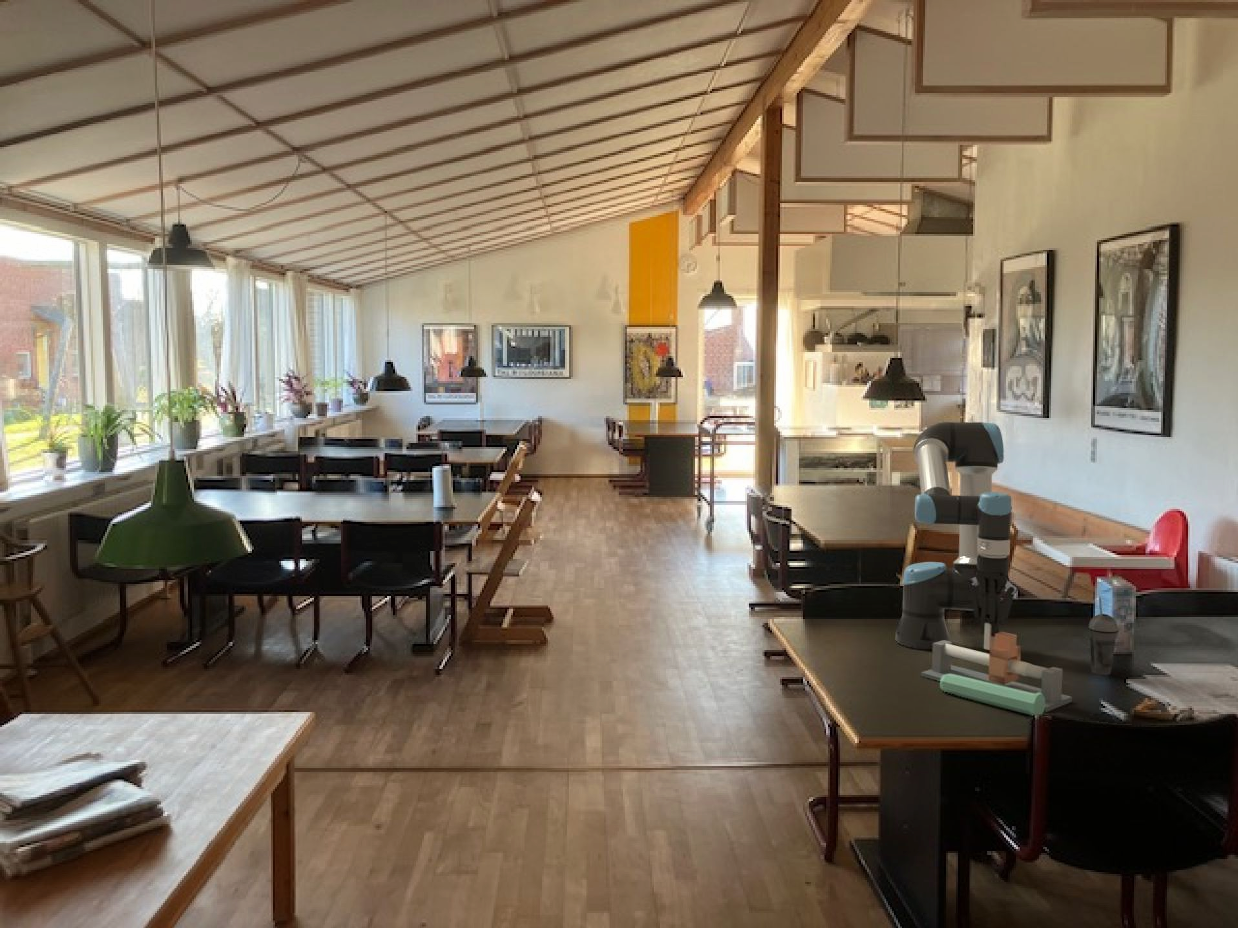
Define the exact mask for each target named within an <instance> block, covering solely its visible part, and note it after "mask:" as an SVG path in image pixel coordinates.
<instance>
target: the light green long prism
mask: <svg viewBox="0 0 1238 928" xmlns="http://www.w3.org/2000/svg"><path fill="white" fill-rule="evenodd" d="M939 688H940V690H941V691H942V690H943V691H944V692H943V691H942V692H943V693H945V692H948V693H947V694H949V693H951V694H950V695H952V694H955V695H954V696H956V695H957V697H960V696H961V697H960V698H964V699H967V698H968V700H971V699H972V700H971V701H974V702H979V703H982V704H983V703H984V704H987V705H991V706H994V707H998V708H1002V709H1005V710H1009V711H1014V712H1018V713H1021V714H1026V715H1029V716H1031V717H1032V716H1033V715H1035V714H1042V715H1043V714H1044V712H1043V711H1044V709H1045V698H1044V696H1043V694H1042V693H1039V692H1038V693H1036V694H1034V693H1030V692H1026V691H1022V690H1017V689H1013V688H1009V687H1005V686H1001V685H996V684H992V683H988V682H984V681H980V680H975V679H971V678H967V677H963V676H959V675H954V674H946V675H943V676H942V677H941V680H940V682H939Z"/></svg>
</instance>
